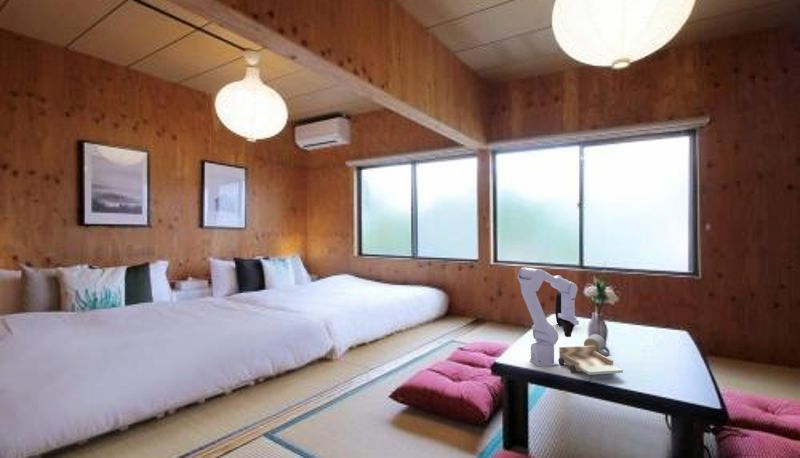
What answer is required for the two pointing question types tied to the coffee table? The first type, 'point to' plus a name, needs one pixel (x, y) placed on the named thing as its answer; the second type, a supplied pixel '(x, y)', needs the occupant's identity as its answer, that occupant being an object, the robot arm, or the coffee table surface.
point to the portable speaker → (558, 307)
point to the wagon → (581, 357)
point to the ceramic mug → (597, 344)
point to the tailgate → (601, 369)
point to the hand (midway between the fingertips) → (567, 336)
